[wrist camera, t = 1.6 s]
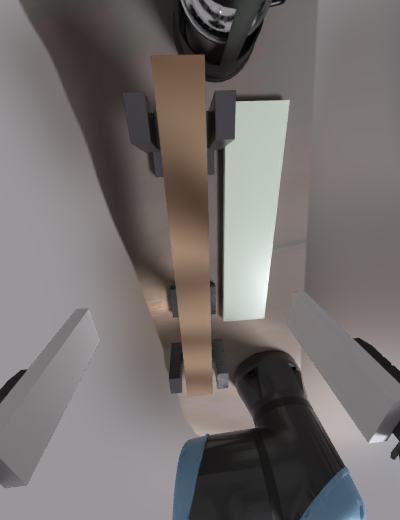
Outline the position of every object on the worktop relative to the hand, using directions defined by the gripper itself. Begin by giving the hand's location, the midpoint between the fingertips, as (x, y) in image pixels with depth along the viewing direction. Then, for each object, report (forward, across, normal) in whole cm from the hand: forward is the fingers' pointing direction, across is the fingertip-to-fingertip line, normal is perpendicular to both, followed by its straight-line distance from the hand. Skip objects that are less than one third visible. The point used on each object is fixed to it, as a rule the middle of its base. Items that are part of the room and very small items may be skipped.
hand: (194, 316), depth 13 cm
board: (+20, -10, 0) cm, 22 cm away
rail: (+7, 0, 0) cm, 7 cm away
